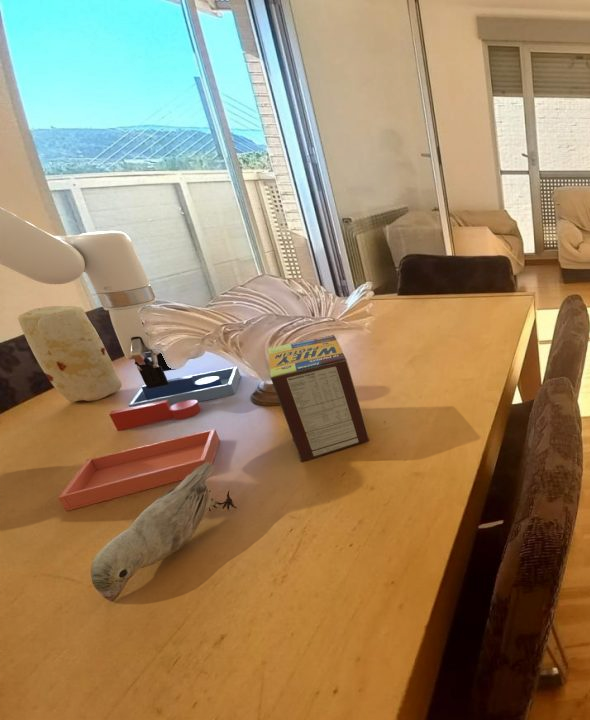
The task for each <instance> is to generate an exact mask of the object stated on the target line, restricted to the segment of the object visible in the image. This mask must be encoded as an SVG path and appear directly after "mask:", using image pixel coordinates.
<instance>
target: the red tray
mask: <svg viewBox="0 0 590 720" xmlns="http://www.w3.org/2000/svg"><path fill="white" fill-rule="evenodd" d="M220 442H221V440H220V436H219V434H218V432H217V430H216V428H212V429H209V430H205V431H200V432H196V433H193V434H188V435H183V436H179V437H175V438H171V439H166V440H162V441H158V442H154V443H150V444H146V445H142V446H137V447H133V448H129V449H125V450H120V451H116V452H112V453H108V454H103V455H100V456H96V457H95V456H94V457H92V458H87V459H86V460H85V462H83V464H82V465H81V467H80V468H79V469H78V471H77V472H76V474H75V475H74V476H73V477H72V479H71V480H70V481H69V483H67V485H66V487H65V488H64V489H63V491H62V492H61V493H60V495H58V497H57V498H58V500H59V502H60V503H61V505H62V506H63V508H64V510H65V511H66V512H69V511H72V510H76V509H80V508H84V507H87V506H90V505H95V504H99V503H102V502H106V501H109V500H113V499H116V498H120V497H123V496H127V495H131V494H135V493H139V492H142V491H146V490H149V489H153V488H158V487H161V486H165V485H169V484H172V483H175V482H179V481H183V480H184V479H185V478H186V477H187V476H188V475H190V474H191V473H192V472H193V471H194V470H195V469H196V468H198V467H199V466H201V465H203V464H204V463H207V462H208V463H210V465H213V464H214V461H215V457H216V454H217V451H218V448H219V444H220Z"/></svg>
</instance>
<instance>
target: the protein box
mask: <svg viewBox="0 0 590 720" xmlns="http://www.w3.org/2000/svg"><path fill="white" fill-rule="evenodd" d="M267 355H268V367H269V376H270V381H271V383H272V385H273V388H274V391H275V393H276V396H277V398H278V402H279V404H280V408H281V410H282V413H283V416H284V419H285V421H286V424H287V426H288V429H289V432H290V435H291V438H292V440H293V443H294V446H295V448H296V451H297V454H298V456H299V460H300V462H306V461H309V460H312V459H315V458H318V457H322V456H324V455H328V454H331V453H334V452H337V451H340V450H345V449H347V448H349V447H353V446H357V445H359V444H362V443H365V442H369V441H370V437H369V433H368V429H367V426H366V422H365V419H364V415H363V411H362V407H361V405H360V401H359V397H358V395H357V391H356V386H355V384H354V380H353V377H352V374H351V370H350V366H349V363H348V360H347V357H346V355H345V353H344V351H343V349H342V347H341V345H340V343H339V341H338V339H337V337H336V336H335V334H331V335H327V336H323V337H317V338H313V339H307V340H302V341H297V342H293V343H287V344H282V345H276V346H272V347H268V348H267Z"/></svg>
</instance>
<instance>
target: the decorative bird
mask: <svg viewBox="0 0 590 720" xmlns="http://www.w3.org/2000/svg"><path fill="white" fill-rule="evenodd" d="M215 469H216V466H215V465H213V464H212V465H210V463H208V462H207V463H204V464H203V465H201V466H199V467H198V468H196V469H195V470H194V471H193V472H192V473H191V474H190V475H188V476H187V477H186V478H185V479H183V480H181V482H180V483H179V484H178V485H176V486H175V487H173V488H171V489H170V490H168V491H167V492H165V493H164V494H162V495H161V496H159V497H158V498H157V499H155V501H153V502H152V503H151V504H150V505H148V506H147V507H146V508H145V509H144V510H143V511H141V513H140V514H139V515H138V516H137V517H136V518H135V520H134V521H133V522H132V523H131V525H129V526H128V527H127V528H126V529H125V530H124V531H122V532H121V533H120V534H118V535H116V536H115V537H113V538H112V539H111V540H110V541H109V542H107V543H106V544H105V545H103V547H102V548H101V549H100V550H99V551H98V552H97V553H96V555H95V556H94V558H93V559H92V563H91V567H90V578H91V583H92V585H93V587H94V589H95V590H96V591H97V592H98V593H99V595H100V596H102V597H103V598H104V599H105V600H107V601H109V602H115V601H116V600H117V598H118V597H119V595H120V594H121V593H122V591H123V590H124V589H125V587H126V585H127V583H128V582H129V580H130V579H131V578H132V577H133V576H134V575H135V574H136V573H137V572H138V571H139V570H140V569H143V568H146V567H150V566H153V565H155V564H157V563H158V562H160V561H161V560H163V559H165V558H166V557H168V556H170V555H171V554H174V553H175V552H177V551H178V550H180V549H182V548H183V546H185V545H186V544H187V542H188V541H189V540H190V539H191V537H192V536H193V535H194V533H195V531H196V530H197V528H198V527H199V525H200V523H201V522H202V521H203V520H204V518H205V517H206V515H207V512H208V511H209V512H211V508H215V509H218V507H217V506H216V505H218V506H221V505H223V506H222V509H223V510H224V509H225V508H227V511H229V512H231V510H230V507H232V508H234V509H237V507H236V505H234V503H233V499H232V498H231V496H230V492H231V491H230V489H229V490H228V491H227V494H226V499H225V500H224V501H223V502H220V501H217V500H214V499H213V498H212V495H211V490H210V489H209V486H208V484H207V481H206V480H207V479H208V478H209V476H210V475H211V473H213V471H214V470H215Z"/></svg>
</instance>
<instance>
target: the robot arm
mask: <svg viewBox="0 0 590 720" xmlns="http://www.w3.org/2000/svg"><path fill="white" fill-rule="evenodd" d="M0 265H2V266H4V267H5V268H8V269H10V270H12V271H14V272H16V273H18V274H21V275H23V276H25V277H26V278H28V279H31V280H33V281H35V282H39V283H42V284H45V285H46V284H47V285H64V284H68V283H72V282H74V281H76V280H77V279H79V278H80V277H81V276H82V275H83V273H85V274H86V275H87V277H88V278H89V281H90V283H91V285H92V287H93V289H94V292H95V294H96V295H97V297H98V300H99V302H100V304H101V306H102V308H103V310H104V311H108V313H109V317H110V321H111V324H112V327H113V330H114V332H115V336H116V337H117V340H118V342H119V346H120V347H121V350H122V353H123V354H124V357H125V358H126V360H127V359H128V360H134V365H136V369H137V370H138V372H139V374H140V376H141V378H142V380H143V382H144V385H146V387H147V388H154V387H159V386H164V385H167V384H168V380H169V379H167V376H166V374H165V372H169V371H174V370H175V369H171V368H169V367H168V366H167V364H166V362H165V360H164V358H163V356H162V354H161V353H160V352H159V351H156V350H152V349H151V348H150V346H149V336H148V335H147V334H146V333H145V332H144V330H143V324H142V321H141V319H140V317H139V315H138V310H139V309H140V308H142V307H143V306H146V305H148V304H154V302H155V303H157V301H158V300H157V298H156V295H155V293H154V291H153V288H152V285H151V284H150V280H148V276H147V274H146V272H145V270H144V268H143V267H144V266H143V265H142V263H141V260H140V258H139V256H138V253H137V251H136V248H135V246H134V244H133V242H132V240H131V238H130V237H129V235H127V233H125V232H122V231H120V230H119V231H118V230H108V231H105V230H104V231H94V232H93V231H92V232H85V233H80V234H76V235H52V234H51V233H49V232H46V231H45V230H43V229H41V228H39V227H38V226H36V225H34V224H32V223H30V222H29V221H27V220H25V219H23V218H21V217H19V216H17V215H16V214H14V213H13V212H10V211H9V210H7V209H5V208H3V207H1V206H0Z"/></svg>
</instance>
